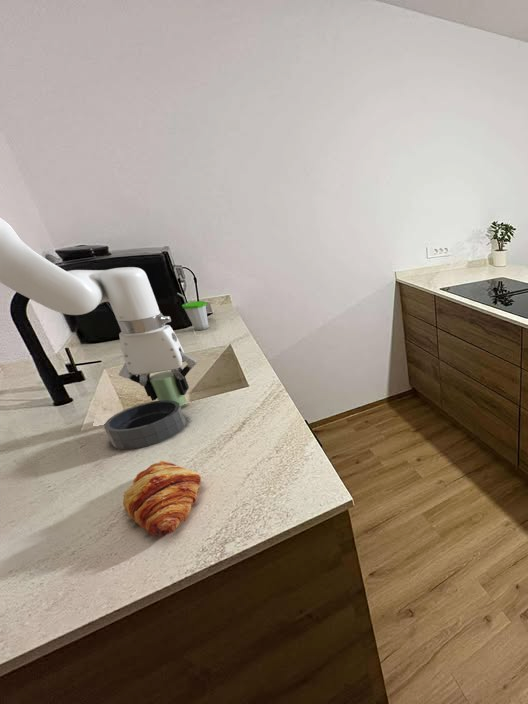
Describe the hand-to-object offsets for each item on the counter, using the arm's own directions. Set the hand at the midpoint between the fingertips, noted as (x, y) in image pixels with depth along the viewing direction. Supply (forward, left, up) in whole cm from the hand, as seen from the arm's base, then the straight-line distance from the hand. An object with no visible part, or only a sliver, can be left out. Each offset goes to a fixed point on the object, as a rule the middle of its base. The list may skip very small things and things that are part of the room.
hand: (170, 394), depth 91 cm
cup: (-6, +72, -4) cm, 72 cm away
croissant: (+7, -38, -4) cm, 39 cm away
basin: (-2, -11, -4) cm, 12 cm away
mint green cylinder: (0, 0, -3) cm, 3 cm away
